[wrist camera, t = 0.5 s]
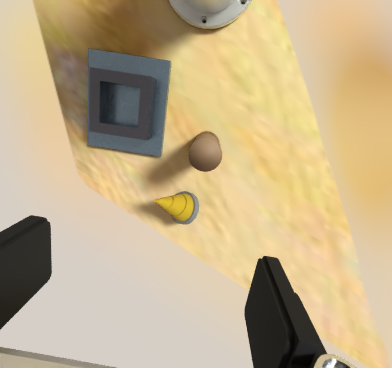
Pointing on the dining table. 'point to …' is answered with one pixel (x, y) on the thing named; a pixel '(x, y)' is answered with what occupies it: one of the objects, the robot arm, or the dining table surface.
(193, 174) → the dining table surface
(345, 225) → the dining table surface
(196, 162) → the walnut rod
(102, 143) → the grey square peg hole
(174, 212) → the yellow grooved cone part
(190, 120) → the dining table surface
